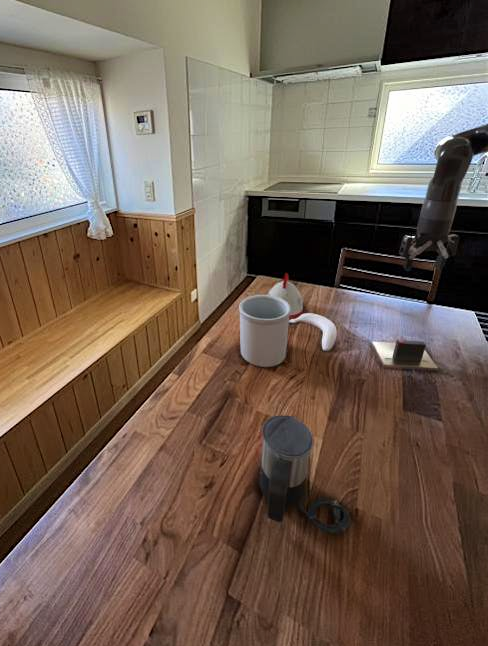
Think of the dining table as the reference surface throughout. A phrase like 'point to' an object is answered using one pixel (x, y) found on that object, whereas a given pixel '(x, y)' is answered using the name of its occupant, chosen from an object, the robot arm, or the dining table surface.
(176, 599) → the dining table surface
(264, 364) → the utensil holder
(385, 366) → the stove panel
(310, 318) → the banana
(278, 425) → the milk frother
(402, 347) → the dark grey rectangular block
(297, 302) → the kitchen timer
